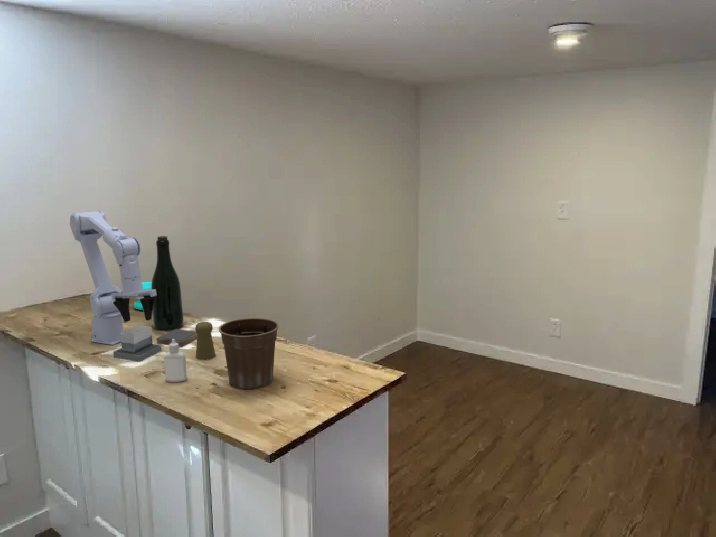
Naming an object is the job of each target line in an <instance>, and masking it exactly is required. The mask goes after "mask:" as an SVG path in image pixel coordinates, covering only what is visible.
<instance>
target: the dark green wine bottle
mask: <svg viewBox="0 0 716 537" xmlns="http://www.w3.org/2000/svg"><path fill="white" fill-rule="evenodd" d="M155 245H156V264H155V270H154V272H153V276H152V279H151V282H152V283H151V290H153V289H156V294H157V295H156V300H155V302H154V305H153V310H152V324H153V328H154V329H156V330H160V331H169V330H171V331H172V330H175V329H179V328H181V327H183V325H184V324H185V322H184V308H183V297H182V287H181V281H180V277H179V276H178V273H177V271H176V269H175V267H174V265H173V262H172V259H171V250H170V240H169V239H168V236H167V235H161V236H159V235H158V236H157V239H156V243H155Z"/></svg>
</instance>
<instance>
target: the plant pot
mask: <svg viewBox="0 0 716 537" xmlns="http://www.w3.org/2000/svg"><path fill="white" fill-rule="evenodd" d="M279 326H280V324H279V323H278V322H277V321H276V320H272V319H268V318H264V317H263V318H261V317H250V318H246V317H245V318H239V319H238V318H237V319H234V320H230V321H227V322H224V323H223V324H221V325H220V326H219V327H218V331H219V334H220V336H221V342H222V345H223V347H224V348H223V349H224V355H225V362H226V369H227V376H228V383H229V384H230V385H231V386H232V387H233V388H235V389H241V390H253V389H258V387H262V388H264V387H266V386H268V385H270V384H271V383H272V382H273V380H274V369H275V366H274V365H275V354H276V353H275V352H276V351H275V350H276V342H277V338H278V336H277V335H278V330H279Z"/></svg>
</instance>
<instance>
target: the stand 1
mask: <svg viewBox="0 0 716 537" xmlns="http://www.w3.org/2000/svg"><path fill="white" fill-rule="evenodd" d="M162 349H163V348H162V344H161V345H160V344H157V343H156V344H154V343H153V345H151V346H149V347H147V348H145V349H143V350H141V351H139V352H137V353H130V352H124V351H122V347H121V348H118V349H117V350H114V351H113V358H114V359H115V358H116V359H120V360H121V359H122V360H127V361H134V362H138V363H139V362H140V363H141V362H142V361H144V360H146V359H148V358H150V357H151V356H153V355H156V354H158V353H160V352H162Z"/></svg>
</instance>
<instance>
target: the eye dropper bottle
mask: <svg viewBox="0 0 716 537" xmlns="http://www.w3.org/2000/svg"><path fill="white" fill-rule="evenodd" d="M168 346H169V351H168V352H166V353H165V354H164V355H163V362H164V375H165V376H164V377H165V381H166V382H168V383H180V382H184V381H186V379H187V378H188V374H187V373H188V372H187V360H186V353H185V352H184V351H183V352H182V351H180V350H179V349H180V347H179V345H178V343H176V342H175V339H172V343H171V344H169V345H168Z"/></svg>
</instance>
